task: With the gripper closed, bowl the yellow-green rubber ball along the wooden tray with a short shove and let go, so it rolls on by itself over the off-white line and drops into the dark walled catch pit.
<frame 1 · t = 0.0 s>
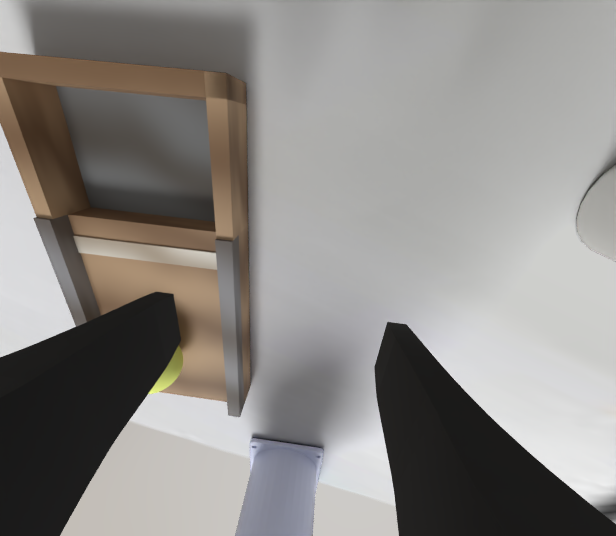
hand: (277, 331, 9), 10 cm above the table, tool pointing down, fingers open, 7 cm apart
ball: (153, 363, 20), point 4 cm above the table, touching wooden tray
wooden tray: (171, 266, 20), on the table
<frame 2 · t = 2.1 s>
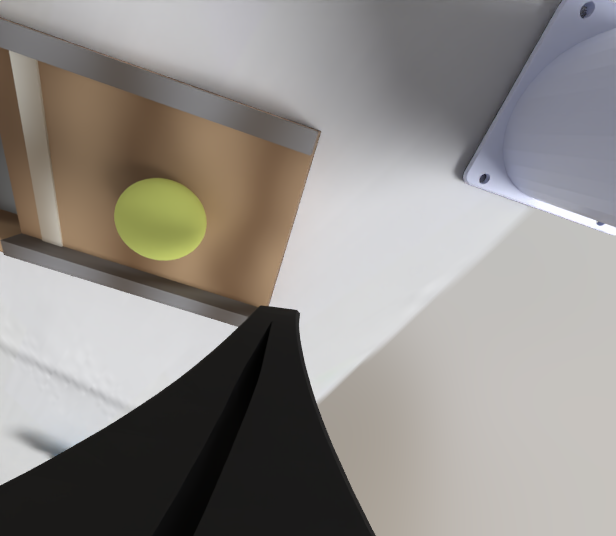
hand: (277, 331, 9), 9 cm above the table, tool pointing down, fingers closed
ball: (163, 220, 13), point 4 cm above the table, touching wooden tray
wooden tray: (105, 170, 17), on the table
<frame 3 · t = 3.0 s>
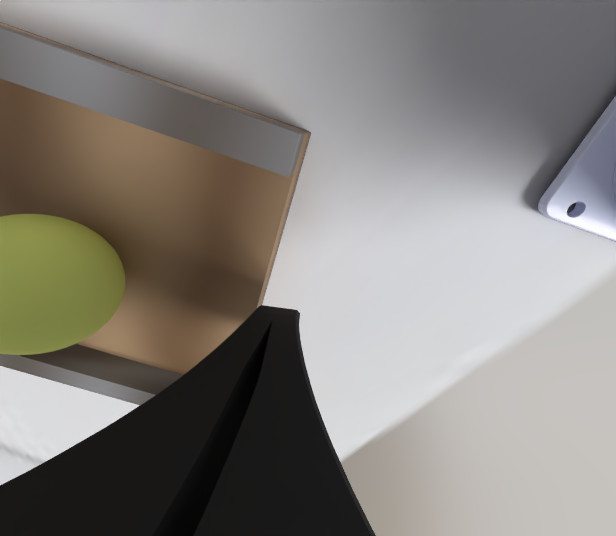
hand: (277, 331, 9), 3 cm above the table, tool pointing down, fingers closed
ball: (42, 283, 8), point 4 cm above the table, touching wooden tray
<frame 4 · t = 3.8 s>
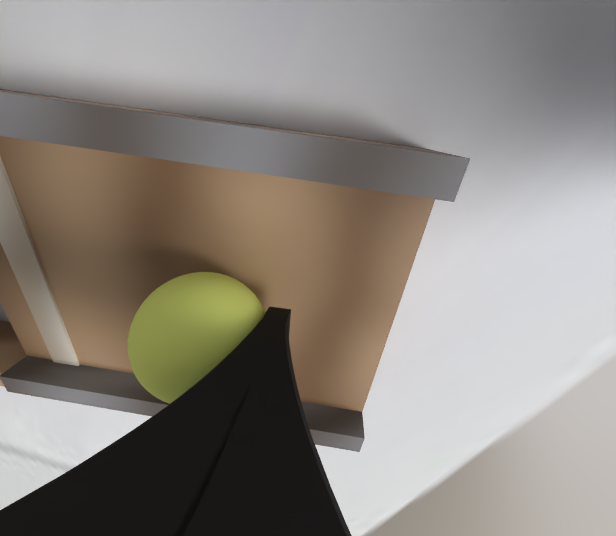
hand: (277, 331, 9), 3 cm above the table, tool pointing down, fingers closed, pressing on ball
ball: (204, 335, 8), point 4 cm above the table, tilted 7°, touching gripper, wooden tray
wooden tray: (117, 256, 12), on the table
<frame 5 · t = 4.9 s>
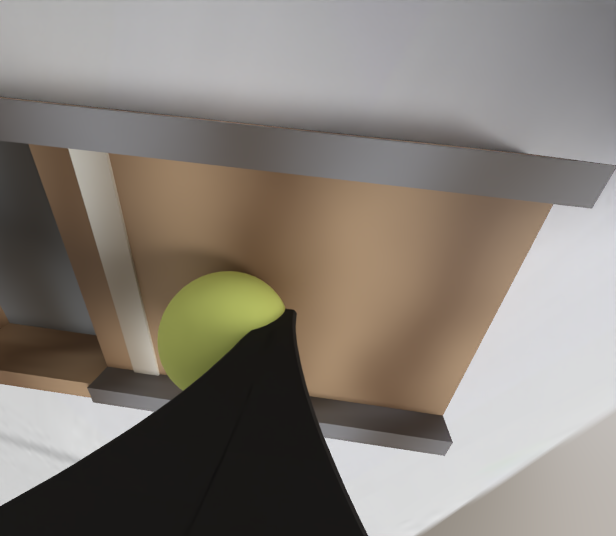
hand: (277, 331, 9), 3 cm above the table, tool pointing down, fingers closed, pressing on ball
ball: (228, 332, 9), point 4 cm above the table, tilted 91°, touching gripper, wooden tray
wooden tray: (197, 266, 12), on the table
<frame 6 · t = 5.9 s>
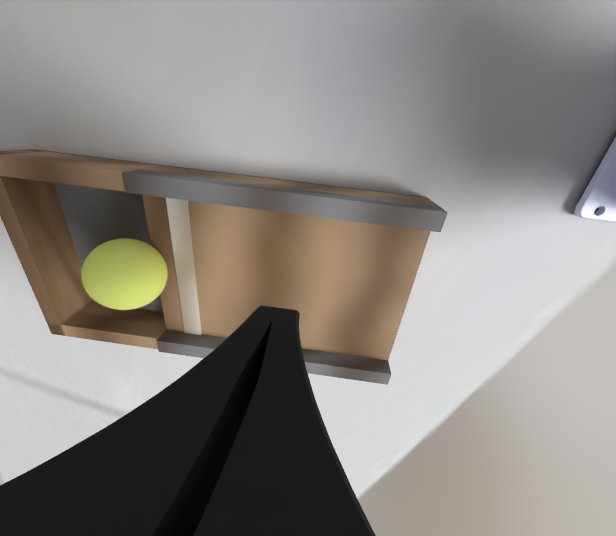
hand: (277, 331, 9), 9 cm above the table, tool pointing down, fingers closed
ball: (127, 274, 15), point 4 cm above the table, tilted 61°, touching wooden tray
wooden tray: (228, 262, 19), on the table
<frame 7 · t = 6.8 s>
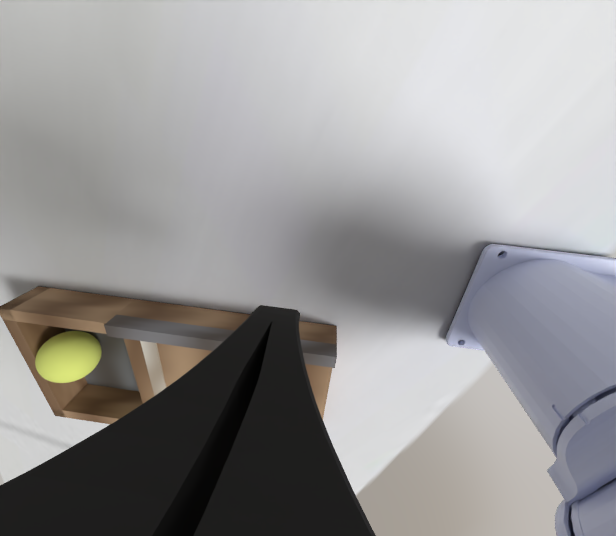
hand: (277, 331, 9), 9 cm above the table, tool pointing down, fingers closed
ball: (70, 356, 22), point 2 cm above the table, tilted 85°, touching wooden tray
wooden tray: (192, 361, 24), on the table
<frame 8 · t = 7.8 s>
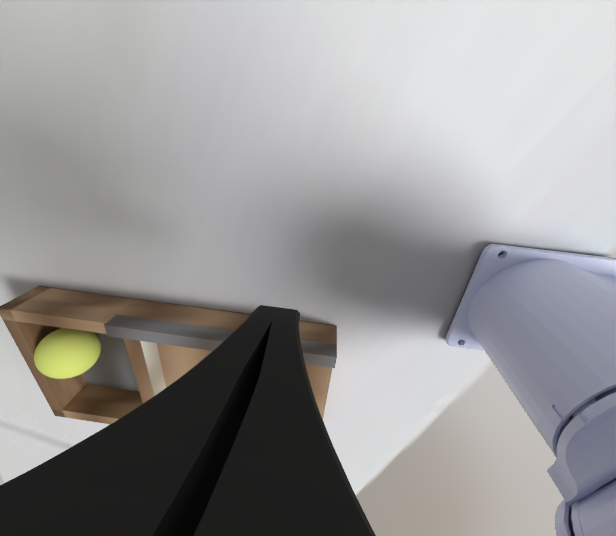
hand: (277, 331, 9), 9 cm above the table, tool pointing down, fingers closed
ball: (69, 351, 22), point 2 cm above the table, tilted 81°, touching wooden tray
wooden tray: (192, 361, 24), on the table
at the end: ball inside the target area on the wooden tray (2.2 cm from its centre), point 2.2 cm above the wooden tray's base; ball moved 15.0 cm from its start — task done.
